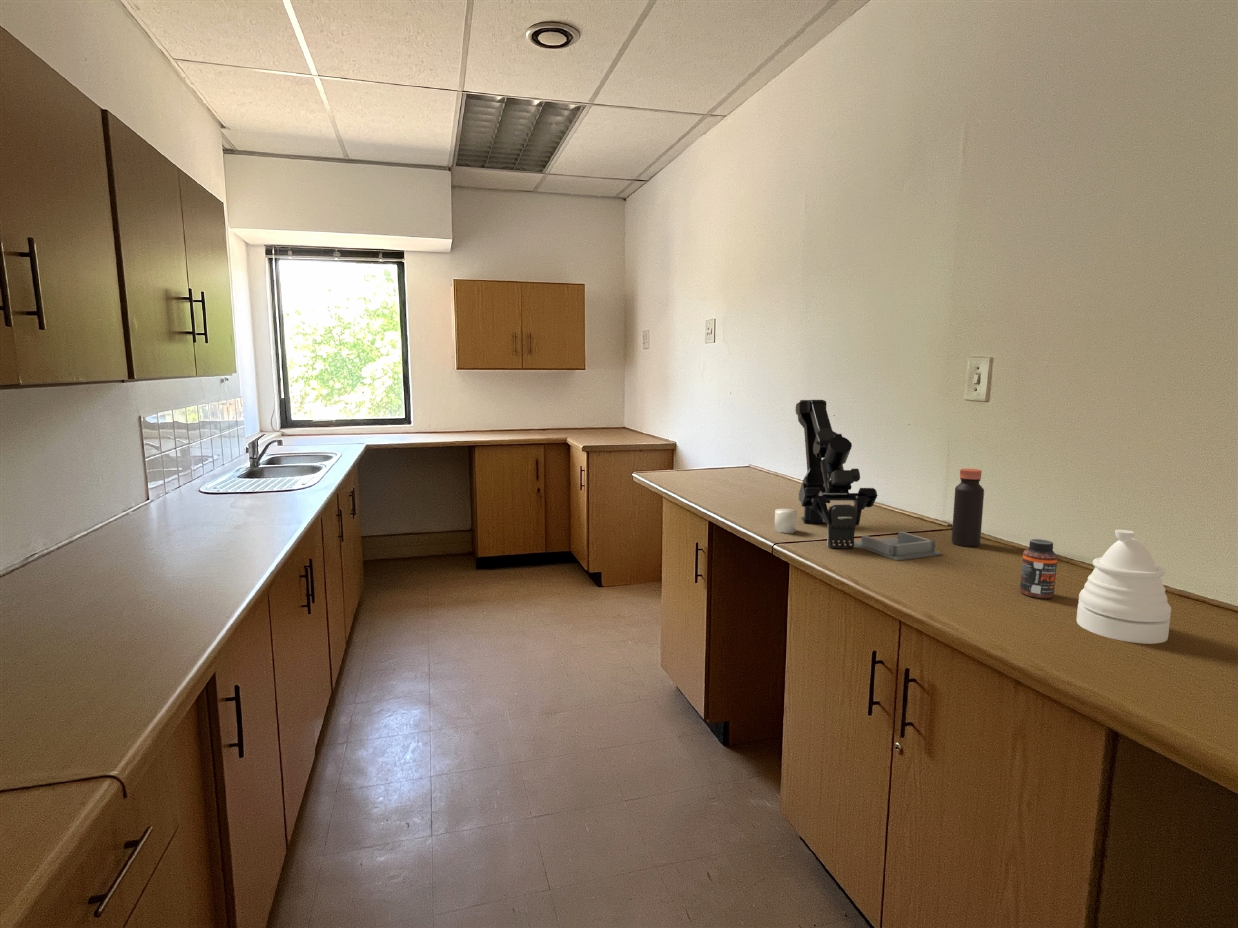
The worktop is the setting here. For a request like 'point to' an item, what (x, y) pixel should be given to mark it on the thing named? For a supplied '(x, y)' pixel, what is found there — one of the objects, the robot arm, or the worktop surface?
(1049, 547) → the supplement bottle
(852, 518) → the battery charger
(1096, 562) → the honey pot
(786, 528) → the white rounded cube
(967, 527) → the vinegar
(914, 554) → the tray
